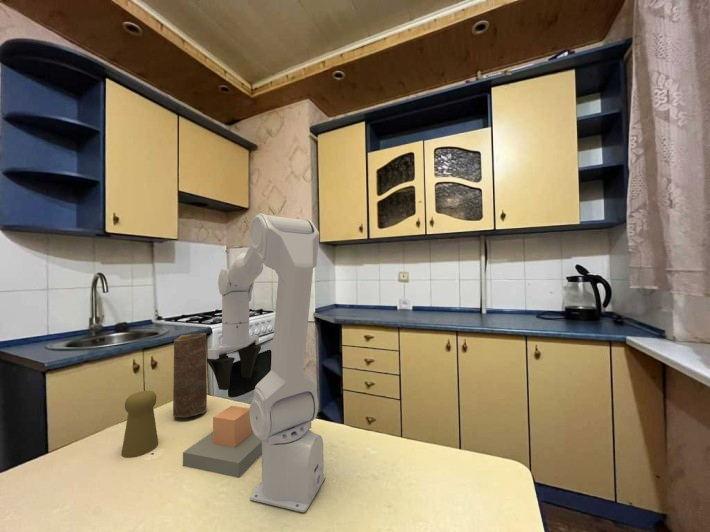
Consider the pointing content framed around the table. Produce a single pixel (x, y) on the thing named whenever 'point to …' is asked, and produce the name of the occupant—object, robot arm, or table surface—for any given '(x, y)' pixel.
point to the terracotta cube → (231, 426)
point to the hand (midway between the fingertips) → (235, 382)
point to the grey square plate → (223, 456)
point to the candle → (190, 375)
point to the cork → (140, 425)
